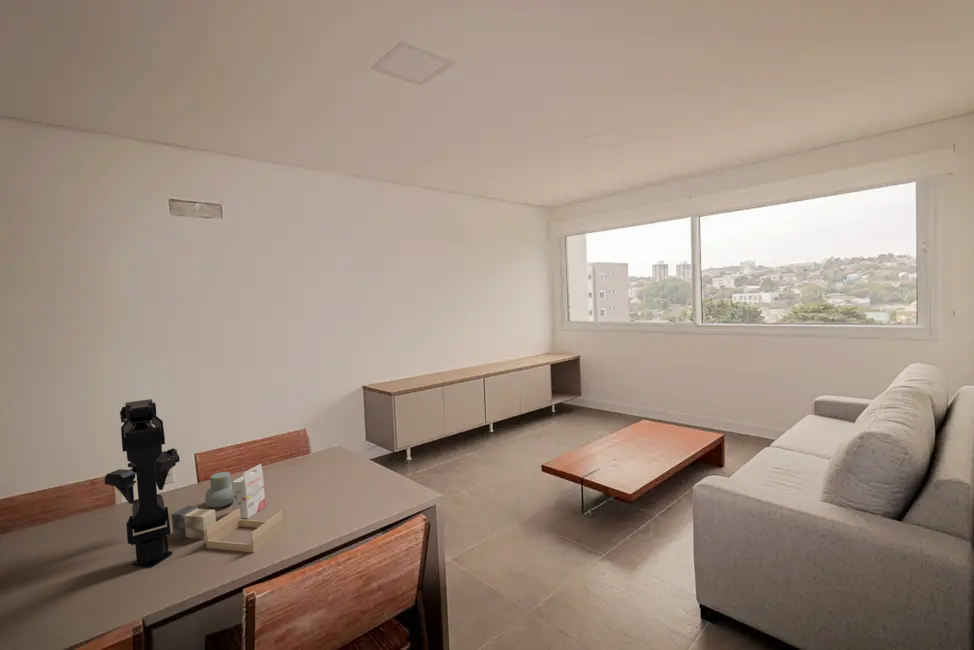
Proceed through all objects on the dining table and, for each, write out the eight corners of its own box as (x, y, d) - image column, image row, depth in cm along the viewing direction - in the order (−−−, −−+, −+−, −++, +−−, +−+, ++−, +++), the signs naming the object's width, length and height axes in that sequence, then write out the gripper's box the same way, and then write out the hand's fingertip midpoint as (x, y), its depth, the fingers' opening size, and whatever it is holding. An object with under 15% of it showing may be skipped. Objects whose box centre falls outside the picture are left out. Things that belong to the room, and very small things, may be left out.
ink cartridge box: (252, 505, 153) (249, 462, 152) (265, 506, 152) (263, 462, 151) (233, 518, 145) (230, 472, 144) (247, 519, 144) (244, 473, 143)
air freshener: (233, 508, 152) (231, 478, 151) (204, 513, 149) (202, 483, 148) (238, 495, 162) (236, 467, 161) (211, 499, 159) (209, 471, 158)
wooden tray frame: (253, 552, 125) (252, 532, 124) (206, 547, 128) (205, 528, 127) (283, 529, 137) (282, 510, 137) (239, 525, 140) (238, 507, 140)
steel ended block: (218, 530, 137) (216, 507, 137) (203, 540, 132) (201, 516, 132) (189, 528, 139) (187, 505, 139) (173, 537, 134) (171, 514, 134)
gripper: (134, 456, 122) (139, 513, 123) (192, 434, 141) (196, 484, 142) (100, 454, 125) (105, 510, 126) (162, 433, 143) (166, 482, 144)
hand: (146, 496), depth 134 cm, fingers open, 9 cm apart
